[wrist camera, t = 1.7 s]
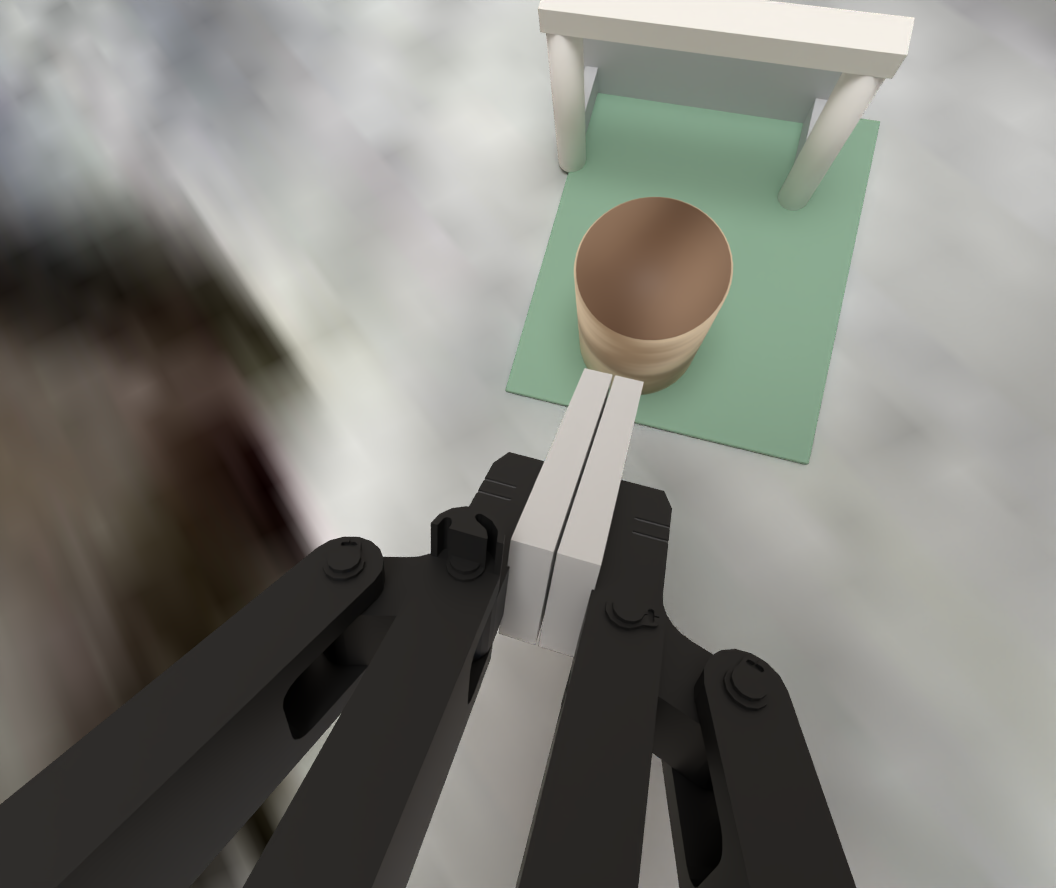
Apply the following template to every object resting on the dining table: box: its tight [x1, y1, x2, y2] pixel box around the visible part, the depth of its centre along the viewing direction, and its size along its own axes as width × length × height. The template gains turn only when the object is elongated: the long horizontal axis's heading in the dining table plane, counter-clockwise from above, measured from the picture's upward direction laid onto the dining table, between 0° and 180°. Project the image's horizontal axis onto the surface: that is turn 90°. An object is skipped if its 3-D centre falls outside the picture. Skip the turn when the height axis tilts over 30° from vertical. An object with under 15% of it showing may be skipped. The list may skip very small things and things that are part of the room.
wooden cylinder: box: [574, 197, 733, 395], centre depth 29 cm, size 7×7×9 cm
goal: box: [538, 0, 915, 211], centre depth 30 cm, size 16×7×11 cm, turn 74°
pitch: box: [506, 93, 880, 464], centre depth 34 cm, size 18×22×1 cm
